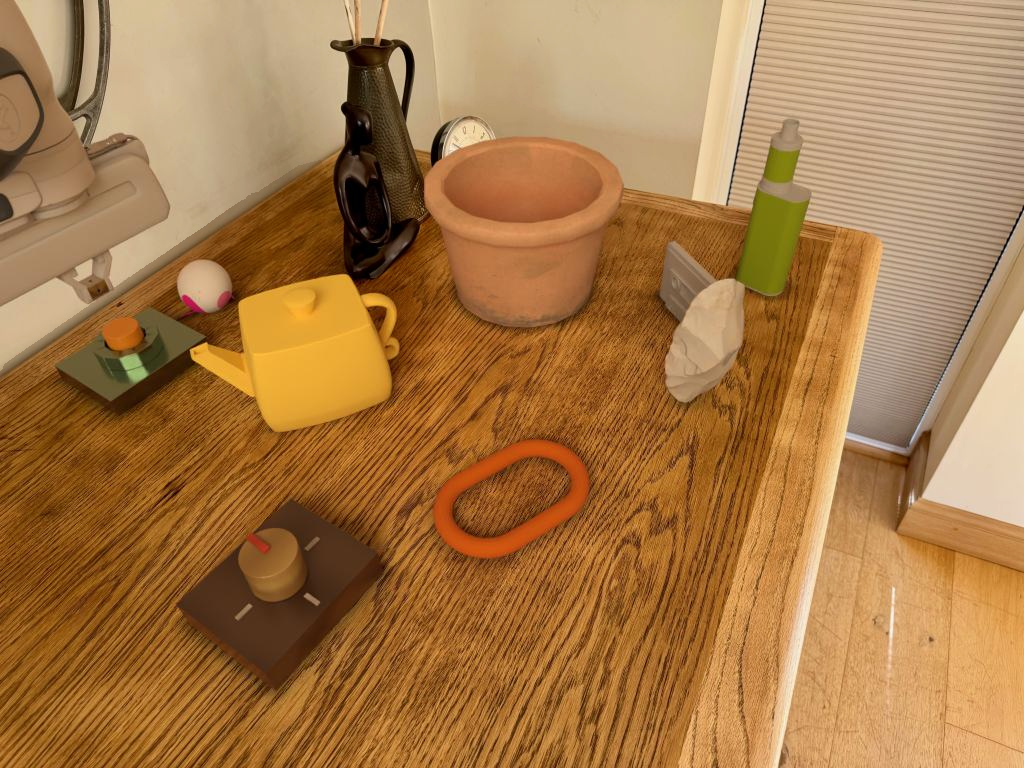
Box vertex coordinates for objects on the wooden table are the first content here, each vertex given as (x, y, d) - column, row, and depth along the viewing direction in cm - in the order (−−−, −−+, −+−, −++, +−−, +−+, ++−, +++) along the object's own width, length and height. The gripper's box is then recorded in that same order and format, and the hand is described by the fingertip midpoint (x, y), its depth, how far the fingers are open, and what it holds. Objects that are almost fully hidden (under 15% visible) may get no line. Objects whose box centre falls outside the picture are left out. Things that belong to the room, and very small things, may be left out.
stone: (679, 429, 72) (703, 308, 61) (652, 394, 75) (671, 274, 65) (747, 407, 73) (782, 286, 63) (717, 374, 77) (746, 255, 67)
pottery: (448, 235, 98) (439, 133, 88) (612, 240, 96) (621, 137, 86) (420, 339, 82) (405, 229, 72) (615, 347, 81) (626, 235, 71)
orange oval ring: (411, 493, 64) (546, 420, 70) (414, 505, 65) (546, 432, 71) (471, 571, 58) (612, 484, 64) (472, 582, 60) (611, 496, 66)
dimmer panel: (276, 692, 53) (265, 672, 51) (188, 623, 58) (174, 602, 55) (383, 572, 60) (377, 550, 58) (298, 518, 65) (290, 496, 62)
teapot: (225, 457, 70) (185, 367, 62) (210, 377, 78) (173, 289, 70) (422, 396, 75) (409, 306, 67) (388, 328, 84) (373, 241, 76)
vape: (745, 266, 91) (782, 110, 77) (789, 285, 88) (836, 126, 74) (729, 279, 89) (765, 122, 75) (774, 299, 86) (819, 138, 72)
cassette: (655, 296, 87) (663, 241, 82) (668, 293, 88) (677, 238, 82) (710, 357, 79) (723, 301, 74) (725, 353, 79) (739, 296, 74)
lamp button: (121, 355, 76) (115, 342, 74) (101, 343, 77) (94, 330, 76) (151, 336, 78) (145, 324, 77) (130, 325, 79) (124, 312, 78)
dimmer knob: (319, 571, 57) (309, 544, 55) (275, 612, 55) (262, 586, 52) (282, 543, 59) (271, 515, 57) (238, 582, 57) (224, 555, 54)
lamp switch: (118, 416, 74) (103, 388, 72) (63, 380, 79) (45, 352, 76) (212, 351, 81) (201, 323, 79) (156, 321, 86) (144, 294, 83)
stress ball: (195, 318, 91) (148, 294, 86) (234, 269, 91) (190, 241, 86) (216, 347, 86) (168, 323, 81) (258, 295, 86) (212, 267, 81)
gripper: (115, 118, 71) (163, 239, 81) (-105, 207, 59) (-18, 338, 69) (156, 133, 69) (200, 256, 78) (-65, 229, 56) (19, 362, 66)
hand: (97, 295), depth 73 cm, fingers closed
